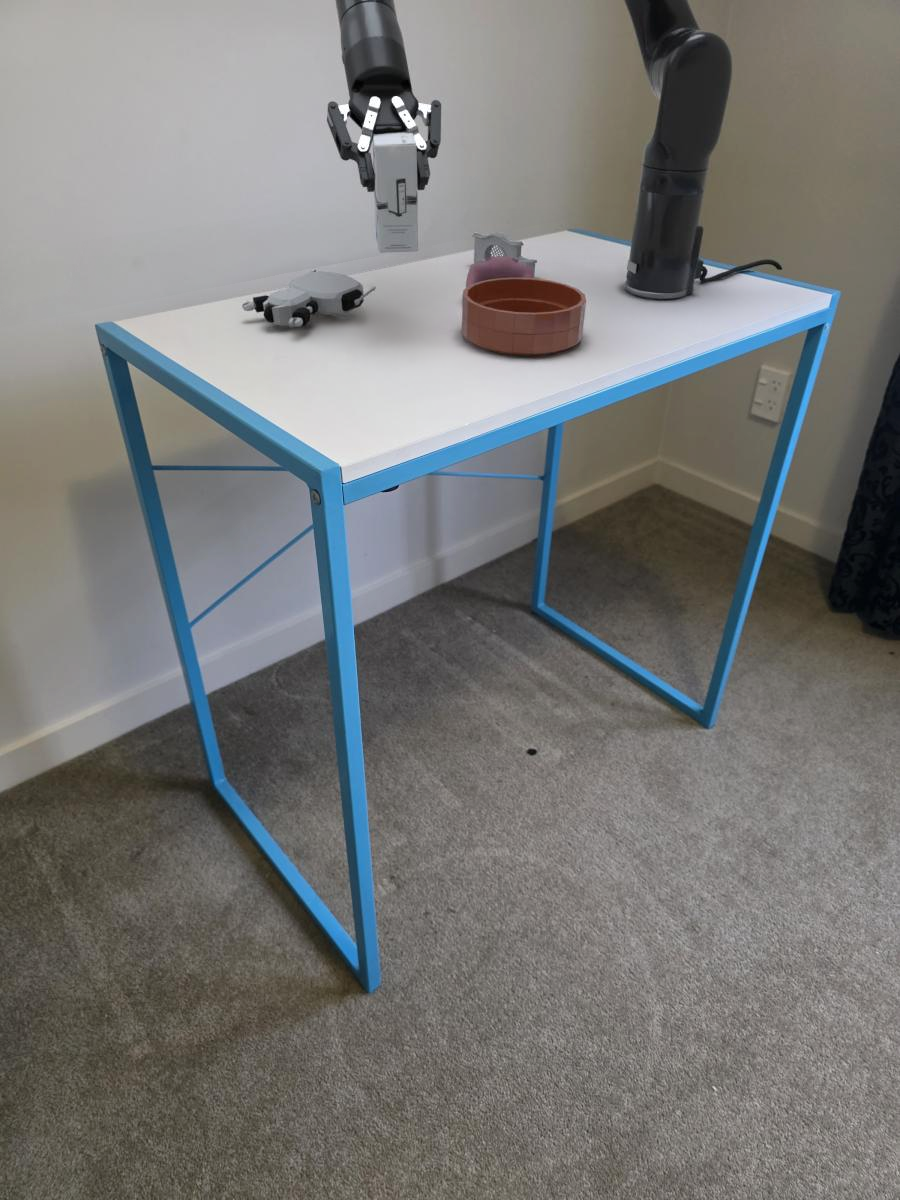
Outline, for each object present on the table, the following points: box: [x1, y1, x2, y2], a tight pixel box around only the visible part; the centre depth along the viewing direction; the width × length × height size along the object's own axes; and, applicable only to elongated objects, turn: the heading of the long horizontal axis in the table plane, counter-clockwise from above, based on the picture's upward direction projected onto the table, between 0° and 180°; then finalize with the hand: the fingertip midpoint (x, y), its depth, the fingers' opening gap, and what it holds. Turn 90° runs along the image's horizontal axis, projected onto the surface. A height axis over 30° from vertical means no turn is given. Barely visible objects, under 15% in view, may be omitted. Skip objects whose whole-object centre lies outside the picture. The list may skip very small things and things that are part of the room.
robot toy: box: [241, 269, 377, 329], centre depth 116 cm, size 12×4×15 cm
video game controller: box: [465, 255, 535, 289], centre depth 124 cm, size 10×5×7 cm, turn 84°
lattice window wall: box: [471, 231, 538, 275], centre depth 136 cm, size 12×2×6 cm, turn 49°
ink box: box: [372, 132, 419, 254], centre depth 102 cm, size 9×5×12 cm, turn 6°
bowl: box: [461, 277, 587, 356], centre depth 111 cm, size 16×16×6 cm
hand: (397, 186), depth 101 cm, fingers closed on ink box, 5 cm apart
